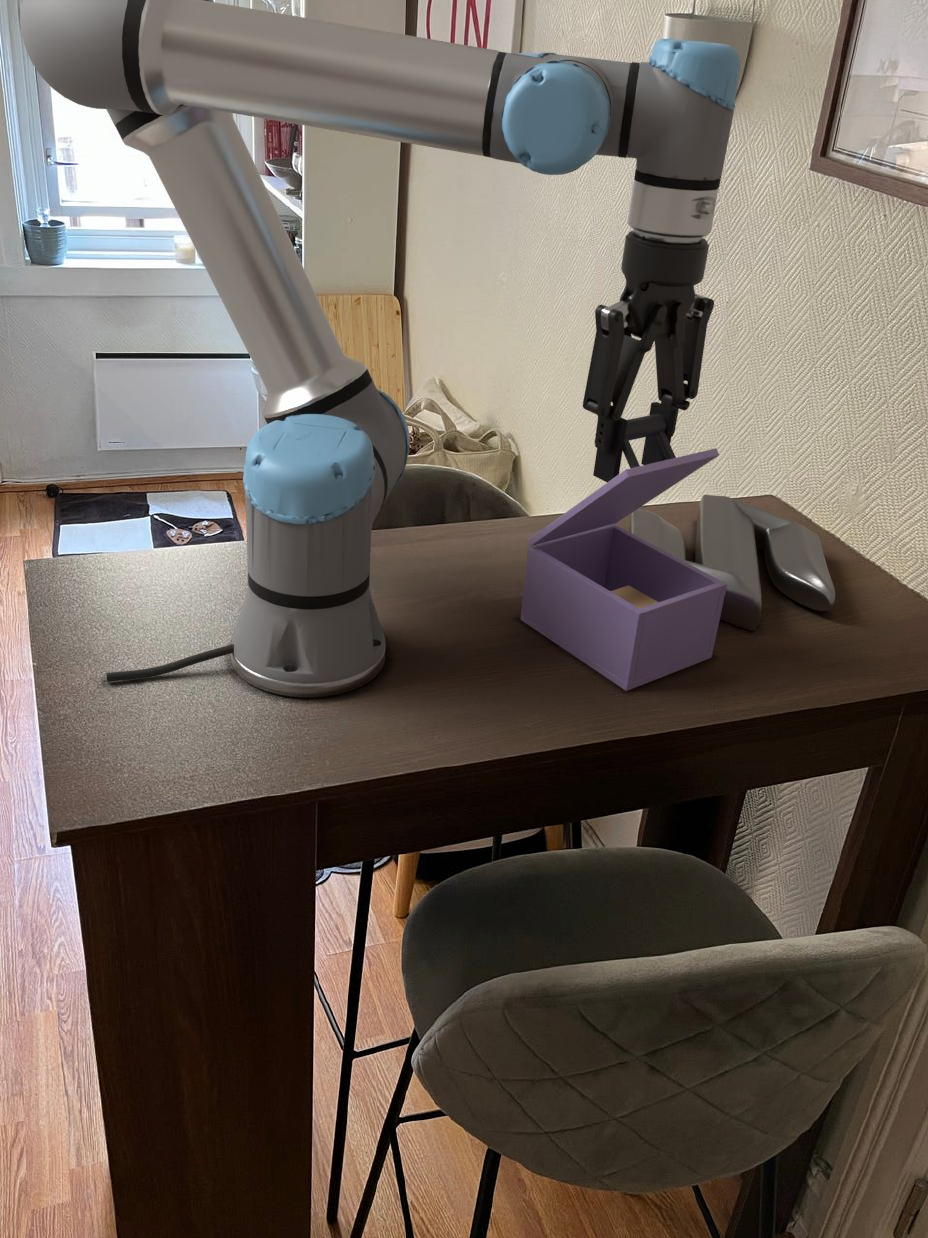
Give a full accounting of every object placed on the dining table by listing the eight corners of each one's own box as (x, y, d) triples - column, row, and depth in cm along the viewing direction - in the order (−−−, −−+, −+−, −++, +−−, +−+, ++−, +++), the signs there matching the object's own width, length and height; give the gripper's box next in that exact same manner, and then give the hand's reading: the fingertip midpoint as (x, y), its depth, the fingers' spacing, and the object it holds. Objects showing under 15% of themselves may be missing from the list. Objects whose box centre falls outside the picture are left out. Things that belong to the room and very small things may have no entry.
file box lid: (719, 454, 109) (694, 398, 110) (628, 477, 102) (601, 416, 103) (616, 523, 123) (594, 472, 124) (529, 546, 117) (507, 492, 117)
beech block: (593, 632, 118) (598, 595, 116) (622, 621, 121) (628, 584, 119) (623, 650, 115) (629, 613, 113) (652, 639, 118) (659, 602, 116)
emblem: (573, 496, 139) (758, 479, 149) (568, 535, 141) (750, 516, 151) (693, 600, 116) (901, 572, 126) (685, 644, 119) (889, 613, 129)
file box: (711, 657, 117) (727, 584, 113) (626, 691, 110) (639, 613, 106) (603, 593, 128) (614, 523, 124) (520, 619, 121) (528, 547, 117)
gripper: (622, 249, 92) (585, 505, 103) (769, 236, 102) (721, 470, 114) (561, 230, 97) (533, 477, 108) (708, 220, 107) (667, 445, 119)
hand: (629, 473), depth 111 cm, fingers closed on file box lid, 6 cm apart
